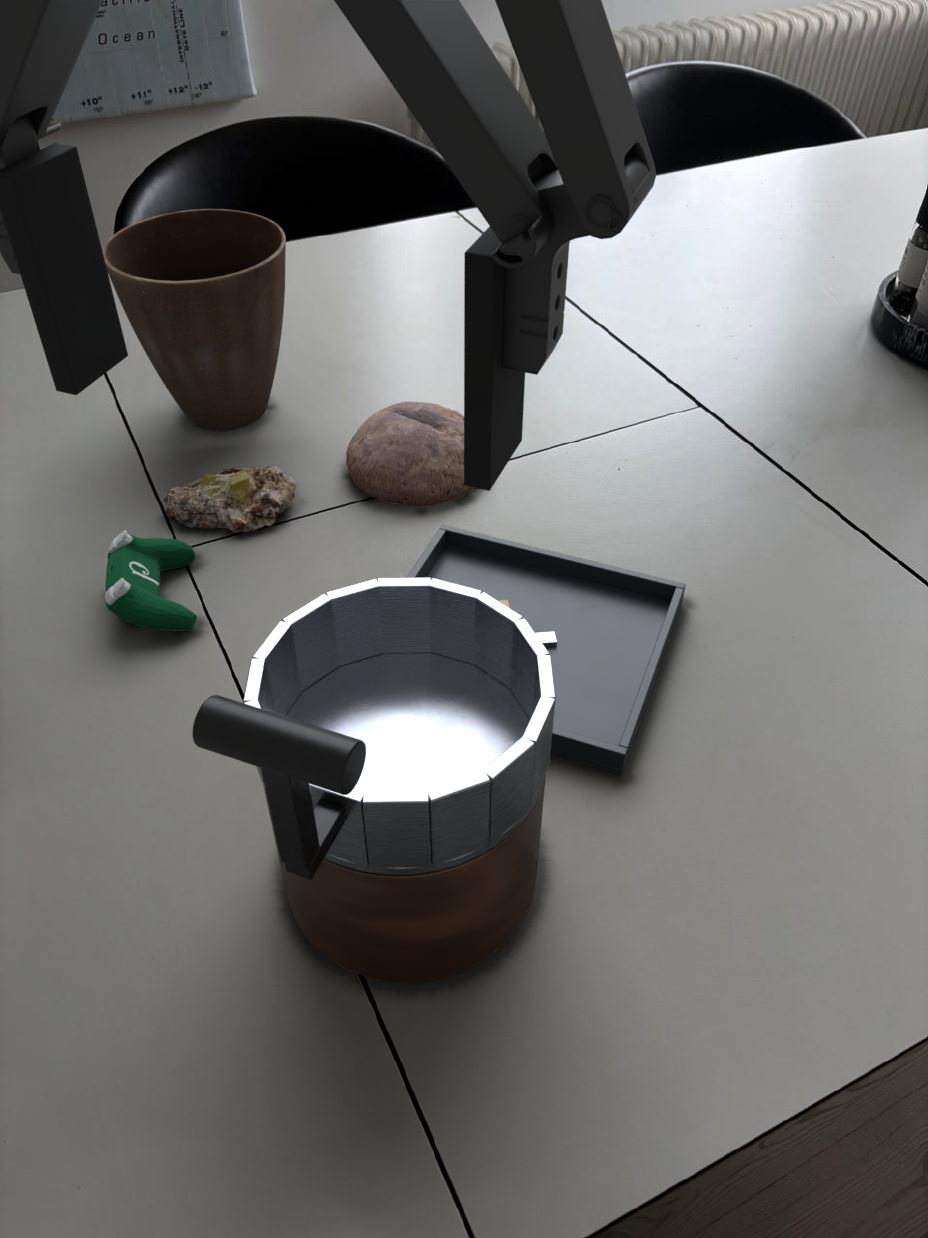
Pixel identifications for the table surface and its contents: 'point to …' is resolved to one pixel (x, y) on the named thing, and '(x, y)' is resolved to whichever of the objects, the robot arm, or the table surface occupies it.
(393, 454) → the decorative stone
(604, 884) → the table surface
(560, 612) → the tray
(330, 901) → the stand
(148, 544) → the gaming controller
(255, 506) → the mineral rock
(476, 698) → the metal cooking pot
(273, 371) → the flower pot
